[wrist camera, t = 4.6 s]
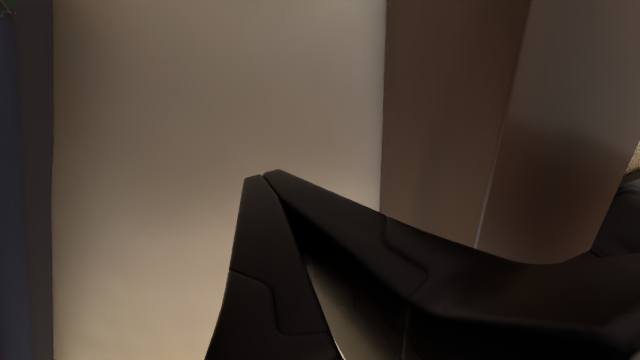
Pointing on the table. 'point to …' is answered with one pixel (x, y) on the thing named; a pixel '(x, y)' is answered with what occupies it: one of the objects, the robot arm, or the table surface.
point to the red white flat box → (26, 179)
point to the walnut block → (509, 120)
